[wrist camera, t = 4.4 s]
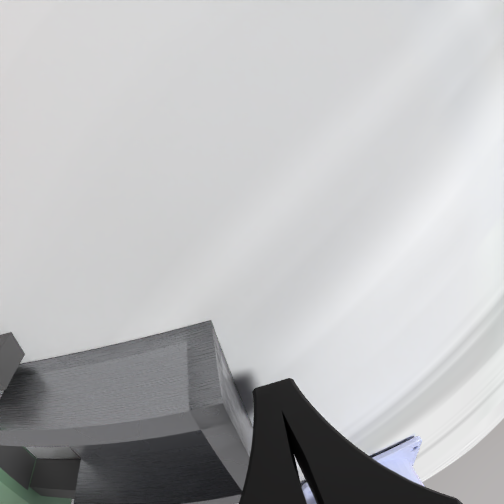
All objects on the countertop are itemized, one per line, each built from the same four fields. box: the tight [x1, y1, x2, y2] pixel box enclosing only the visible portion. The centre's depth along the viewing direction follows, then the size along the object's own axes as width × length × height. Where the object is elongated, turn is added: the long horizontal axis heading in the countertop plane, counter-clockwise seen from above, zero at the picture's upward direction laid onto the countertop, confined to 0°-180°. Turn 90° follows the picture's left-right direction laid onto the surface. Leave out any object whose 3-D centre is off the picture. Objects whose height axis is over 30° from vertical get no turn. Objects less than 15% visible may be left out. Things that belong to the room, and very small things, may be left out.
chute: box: [0, 321, 253, 504], centre depth 9 cm, size 6×8×4 cm
